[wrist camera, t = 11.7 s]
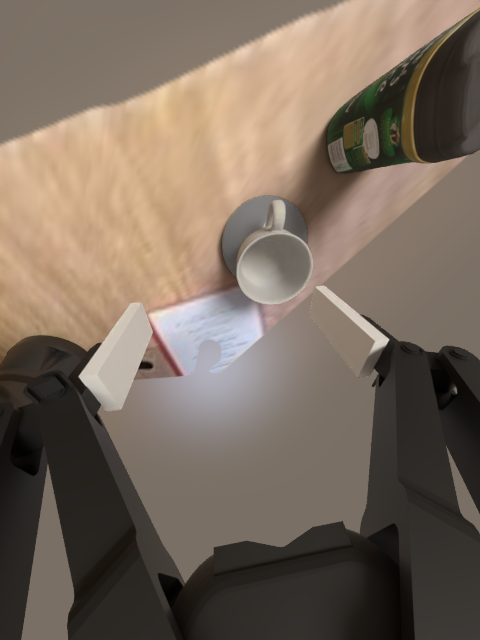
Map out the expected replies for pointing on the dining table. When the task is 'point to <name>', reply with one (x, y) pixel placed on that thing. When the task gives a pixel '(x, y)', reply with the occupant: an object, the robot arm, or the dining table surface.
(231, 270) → the charcoal plate
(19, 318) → the dining table surface
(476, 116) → the coffee jar
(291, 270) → the teacup
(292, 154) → the dining table surface
